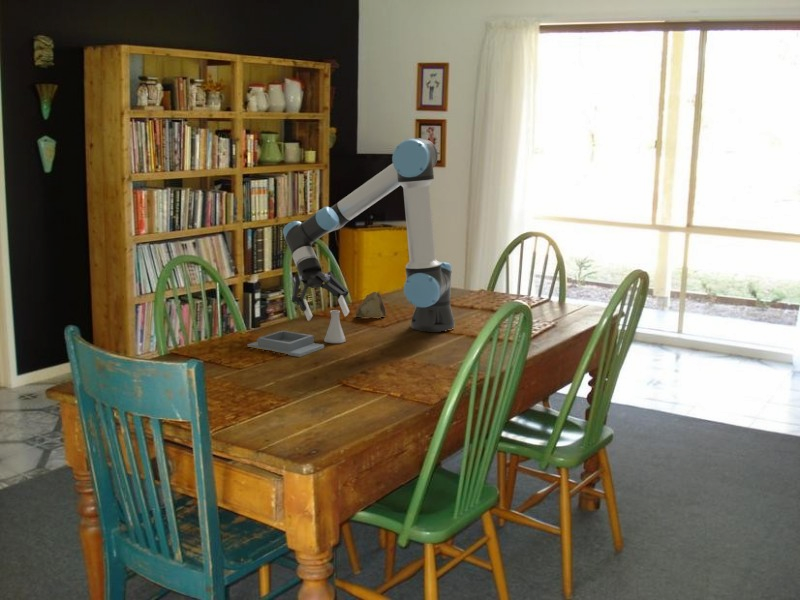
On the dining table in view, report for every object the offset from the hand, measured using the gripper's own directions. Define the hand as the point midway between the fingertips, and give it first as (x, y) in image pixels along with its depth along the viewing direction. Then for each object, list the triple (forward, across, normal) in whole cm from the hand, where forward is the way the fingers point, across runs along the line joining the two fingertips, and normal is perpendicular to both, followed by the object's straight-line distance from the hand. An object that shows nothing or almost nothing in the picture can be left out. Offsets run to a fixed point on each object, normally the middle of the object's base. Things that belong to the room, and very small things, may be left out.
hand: (328, 316), depth 296 cm
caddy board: (+7, +17, -4) cm, 18 cm away
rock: (-9, -29, -21) cm, 37 cm away
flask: (+8, -1, -4) cm, 9 cm away
